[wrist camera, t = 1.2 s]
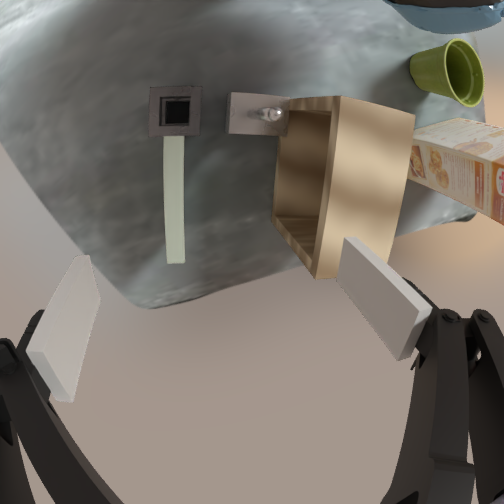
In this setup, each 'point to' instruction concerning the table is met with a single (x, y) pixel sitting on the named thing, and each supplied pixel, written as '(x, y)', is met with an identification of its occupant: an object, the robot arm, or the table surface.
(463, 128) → the coffeecake box
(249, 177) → the table surface
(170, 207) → the square frame paddle
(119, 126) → the table surface
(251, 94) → the cabinet
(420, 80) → the plant pot
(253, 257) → the table surface
